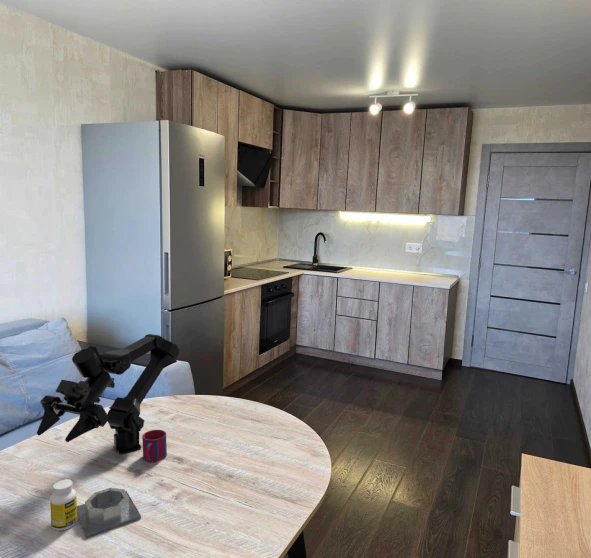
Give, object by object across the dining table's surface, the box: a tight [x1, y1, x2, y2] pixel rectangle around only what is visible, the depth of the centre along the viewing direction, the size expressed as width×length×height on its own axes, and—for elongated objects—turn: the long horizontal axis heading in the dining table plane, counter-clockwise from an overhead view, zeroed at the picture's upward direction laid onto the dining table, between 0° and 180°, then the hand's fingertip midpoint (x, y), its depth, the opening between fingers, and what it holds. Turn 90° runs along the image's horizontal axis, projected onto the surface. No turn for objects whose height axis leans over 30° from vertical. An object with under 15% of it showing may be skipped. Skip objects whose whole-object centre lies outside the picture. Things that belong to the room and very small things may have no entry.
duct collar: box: [77, 487, 142, 539], centre depth 110 cm, size 12×12×4 cm
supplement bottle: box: [49, 478, 78, 531], centre depth 106 cm, size 5×5×10 cm
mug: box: [141, 429, 168, 463], centre depth 135 cm, size 7×10×7 cm
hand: (51, 437), depth 115 cm, fingers open, 9 cm apart
